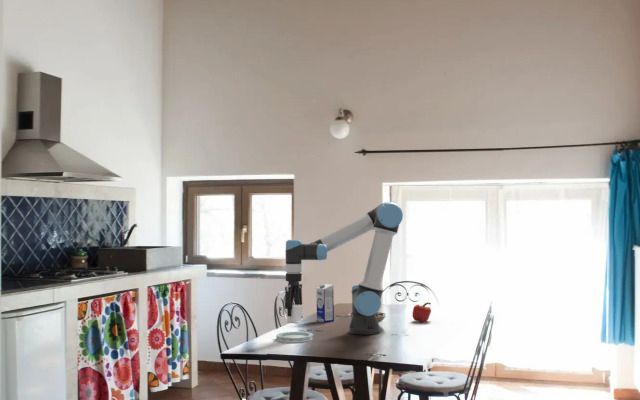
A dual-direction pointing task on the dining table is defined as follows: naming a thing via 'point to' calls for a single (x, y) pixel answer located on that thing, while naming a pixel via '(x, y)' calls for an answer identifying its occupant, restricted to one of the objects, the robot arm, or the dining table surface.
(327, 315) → the milk carton
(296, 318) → the cup
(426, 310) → the vegetable
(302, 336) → the saucer
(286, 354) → the dining table surface
